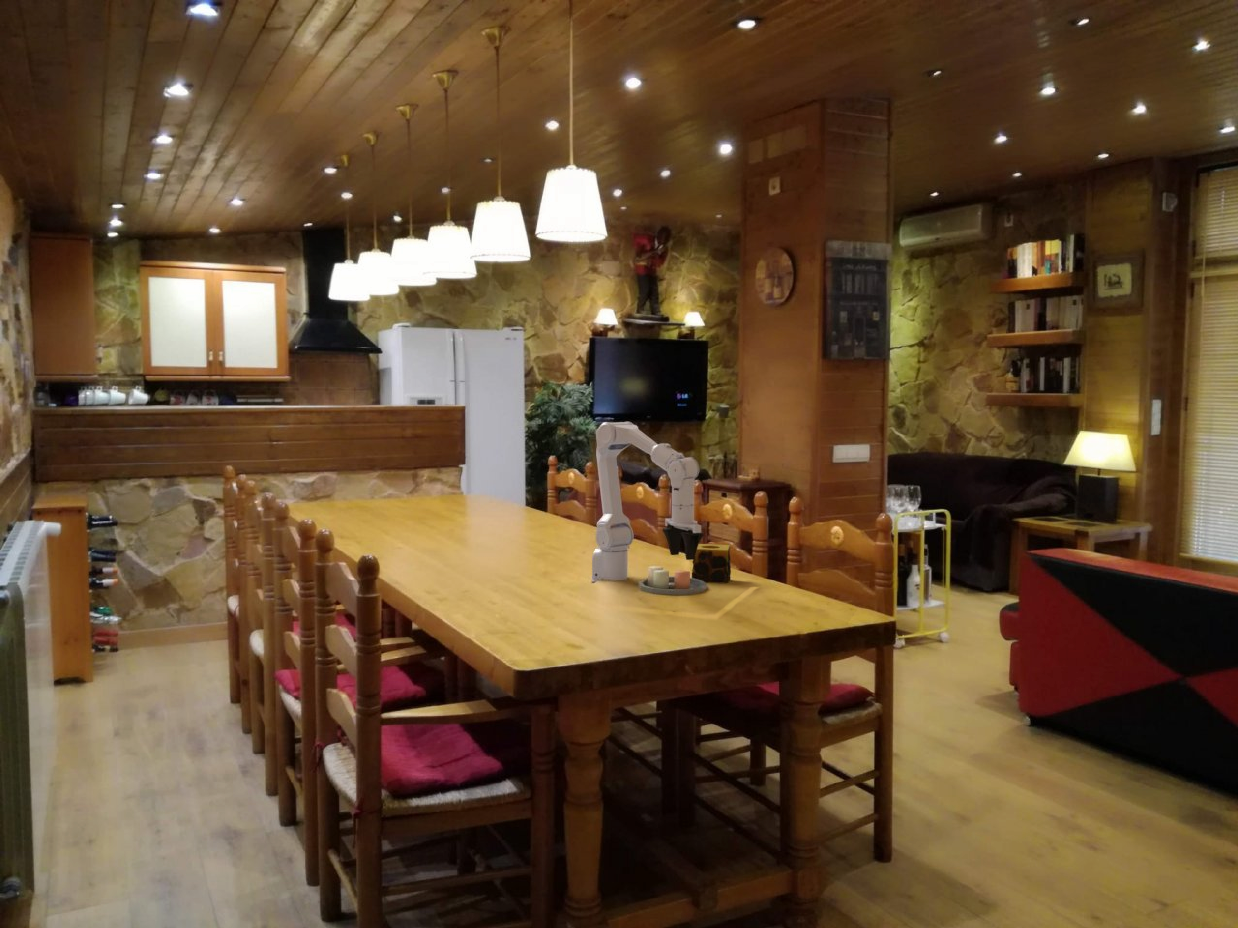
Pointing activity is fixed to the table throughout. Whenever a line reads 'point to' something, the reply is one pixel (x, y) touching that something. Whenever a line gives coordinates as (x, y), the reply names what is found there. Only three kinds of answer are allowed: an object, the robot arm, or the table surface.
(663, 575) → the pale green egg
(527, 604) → the table surface
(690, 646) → the table surface
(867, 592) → the table surface
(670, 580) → the groove tray
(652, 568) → the bead
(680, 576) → the bead
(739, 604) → the table surface
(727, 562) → the yellow black patterned cube
